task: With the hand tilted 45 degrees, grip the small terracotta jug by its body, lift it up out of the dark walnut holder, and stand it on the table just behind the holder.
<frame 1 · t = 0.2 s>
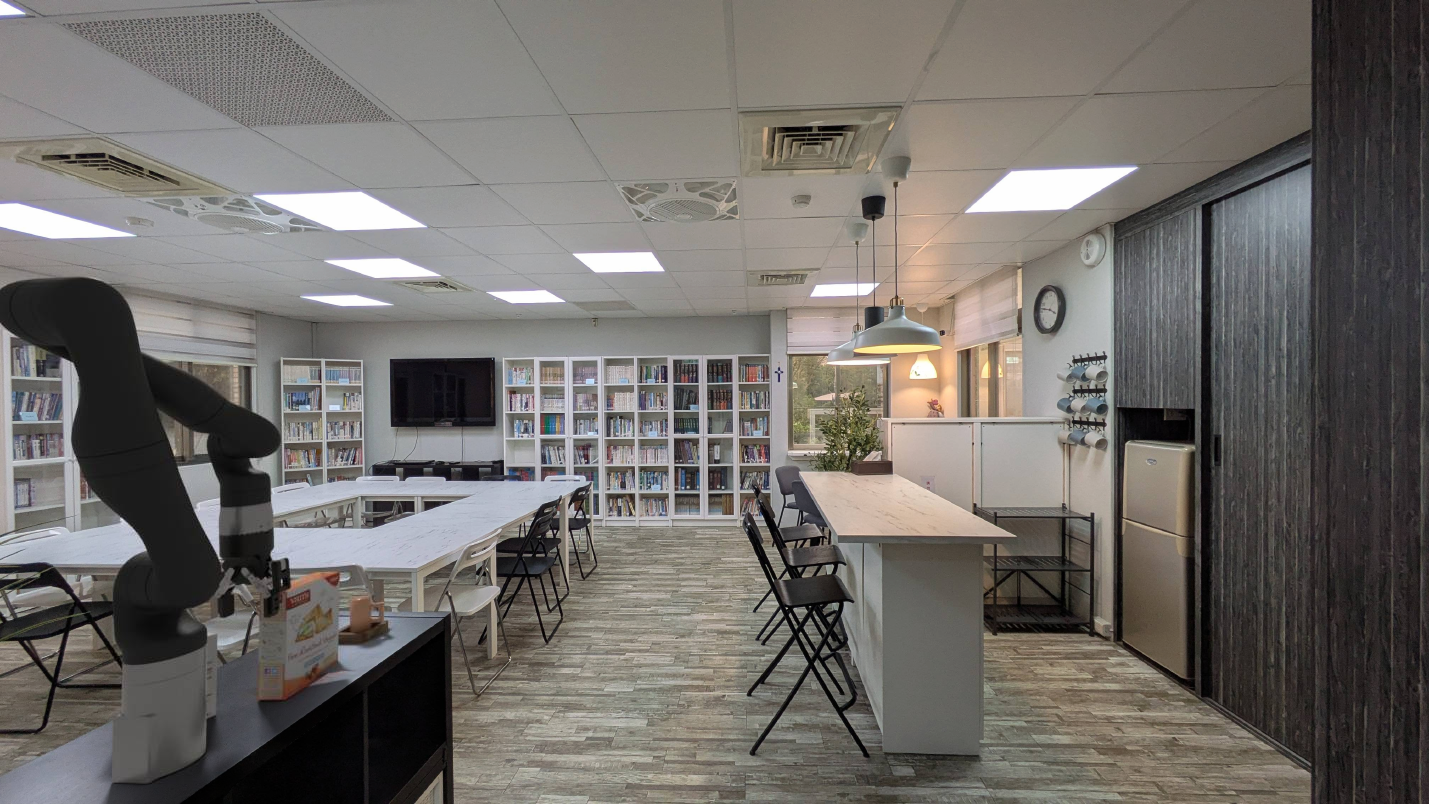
hand: (249, 616, 95), 18 cm above the table, tool pointing down, fingers open, 8 cm apart
walnut holder: (360, 641, 126), on the table
supplement box: (170, 726, 92), on the table
terracotta jug: (360, 635, 126), point 1 cm above the table, touching walnut holder
cracker box: (301, 684, 106), on the table
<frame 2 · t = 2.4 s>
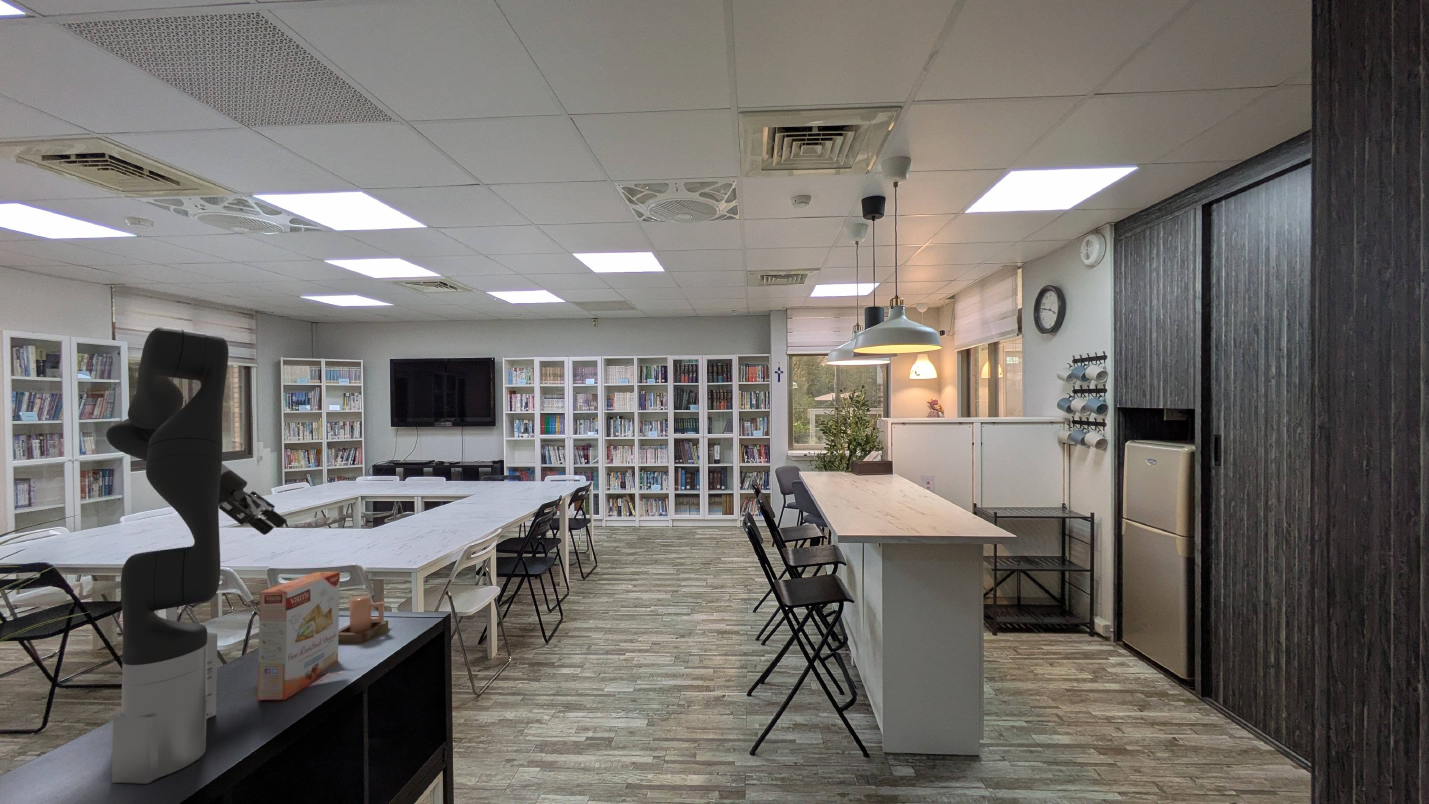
hand: (276, 527, 120), 29 cm above the table, tool tilted 45°, fingers open, 8 cm apart
nothing on the table moved.
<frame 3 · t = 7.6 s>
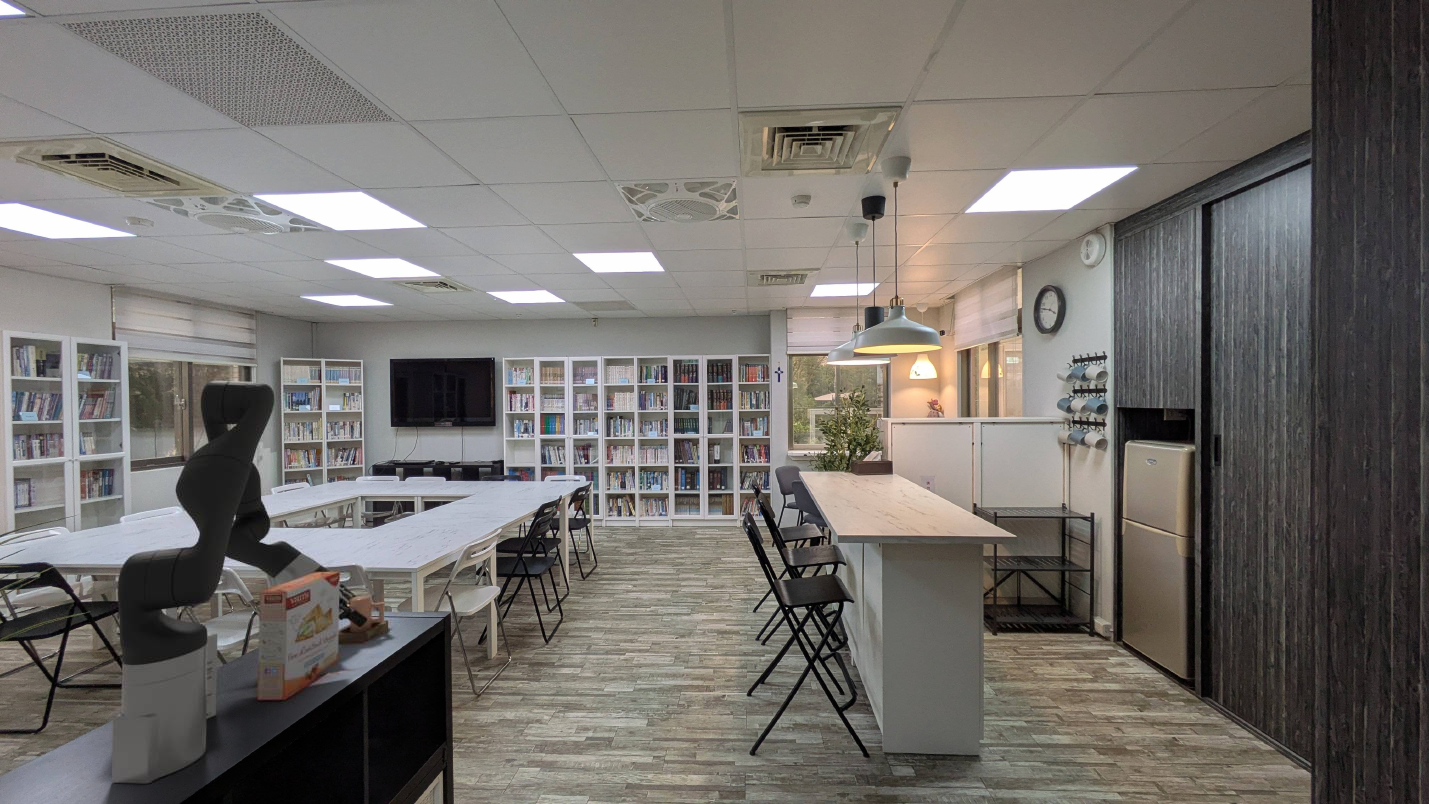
hand: (366, 619, 127), 5 cm above the table, tool tilted 45°, fingers closed on terracotta jug, 4 cm apart
terracotta jug: (360, 635, 126), point 2 cm above the table, touching gripper, walnut holder
everything else where it was.
when the fingers open (5 cm above the table, at t = 14.0 s): terracotta jug drops 1 cm, on the table.
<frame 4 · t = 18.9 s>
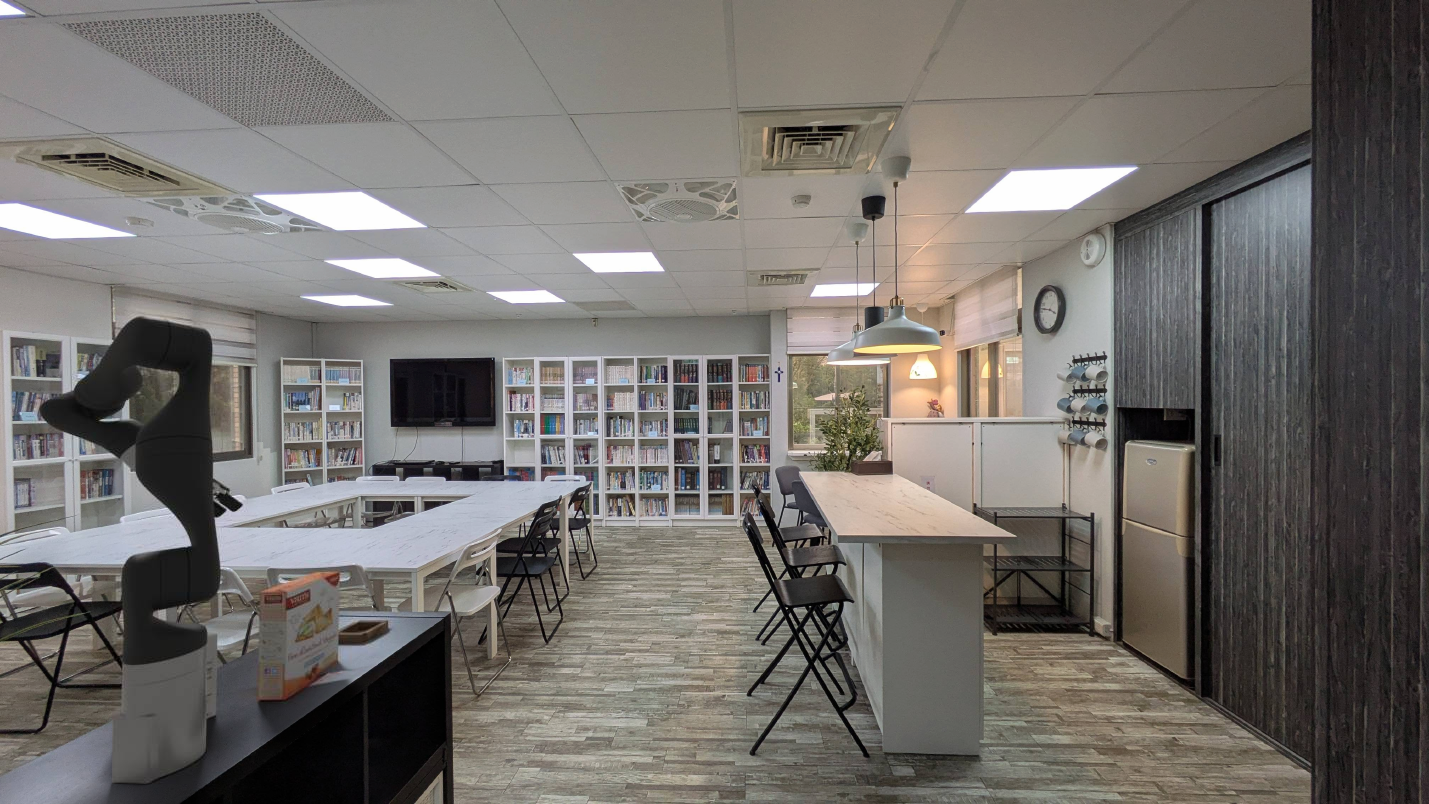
hand: (231, 511, 113), 35 cm above the table, tool tilted 45°, fingers open, 8 cm apart
terracotta jug: (293, 653, 120), on the table
everything else where it was.
at the end: terracotta jug inside the target area (0.1 cm from its centre), on the table; terracotta jug tilted 0°; the gripper is holding nothing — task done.
